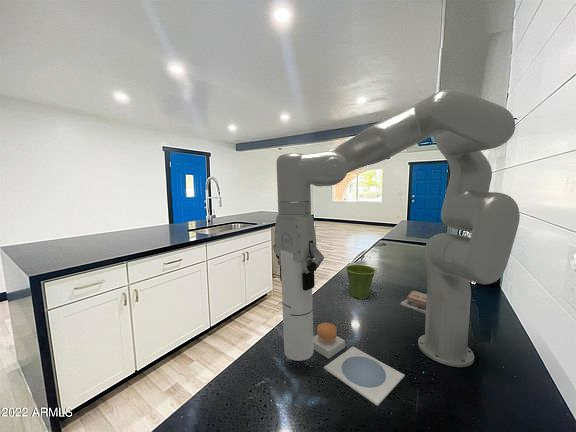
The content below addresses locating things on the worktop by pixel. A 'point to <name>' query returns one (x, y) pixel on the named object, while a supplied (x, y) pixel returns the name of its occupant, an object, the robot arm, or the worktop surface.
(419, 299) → the packaged product
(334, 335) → the button
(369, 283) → the plant pot
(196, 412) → the worktop surface
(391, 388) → the white flat plate
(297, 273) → the cylindrical container
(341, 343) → the button housing
